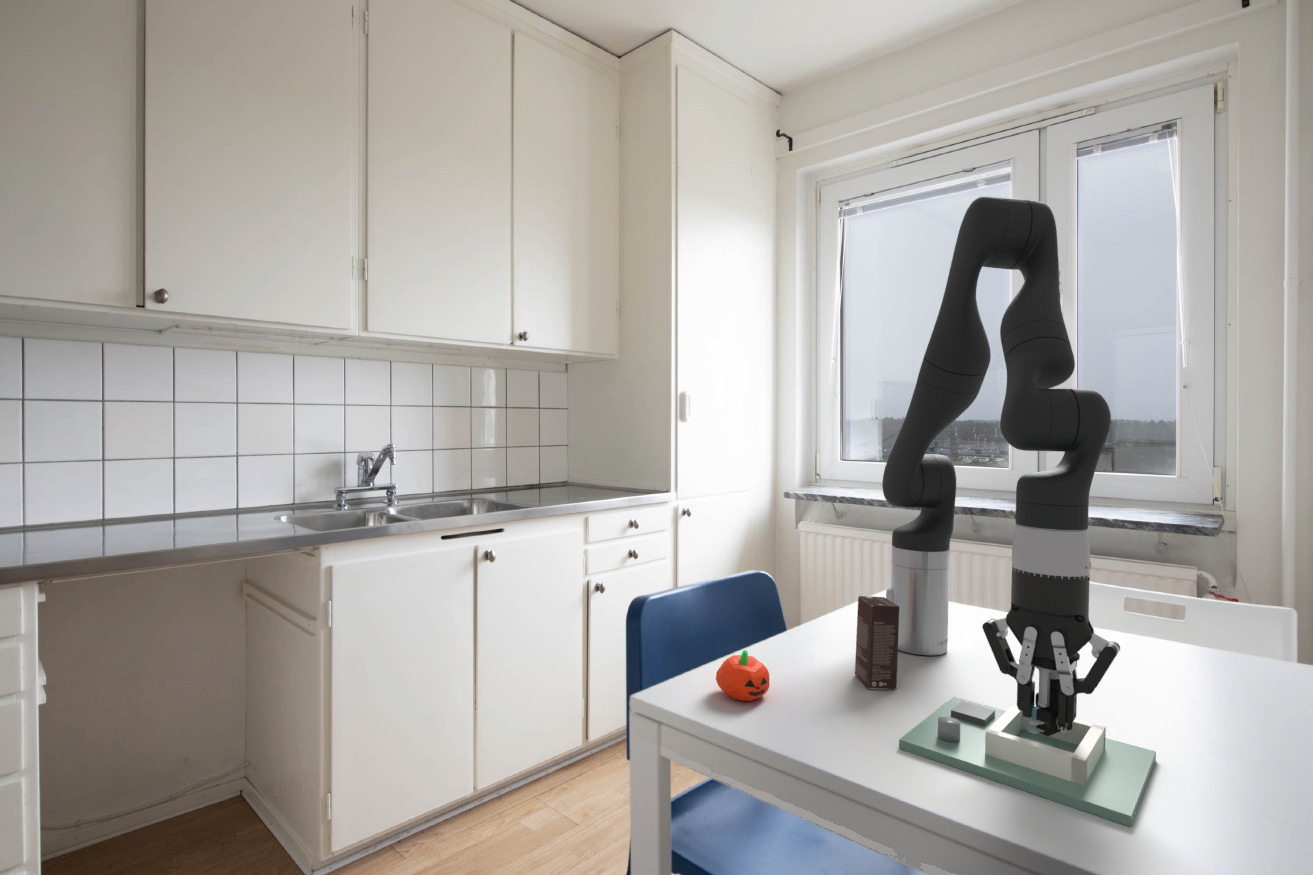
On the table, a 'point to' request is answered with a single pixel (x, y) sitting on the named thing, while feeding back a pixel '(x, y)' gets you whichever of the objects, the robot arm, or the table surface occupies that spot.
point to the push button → (1048, 698)
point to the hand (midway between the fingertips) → (1046, 719)
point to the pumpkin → (743, 677)
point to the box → (877, 642)
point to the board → (1037, 757)
